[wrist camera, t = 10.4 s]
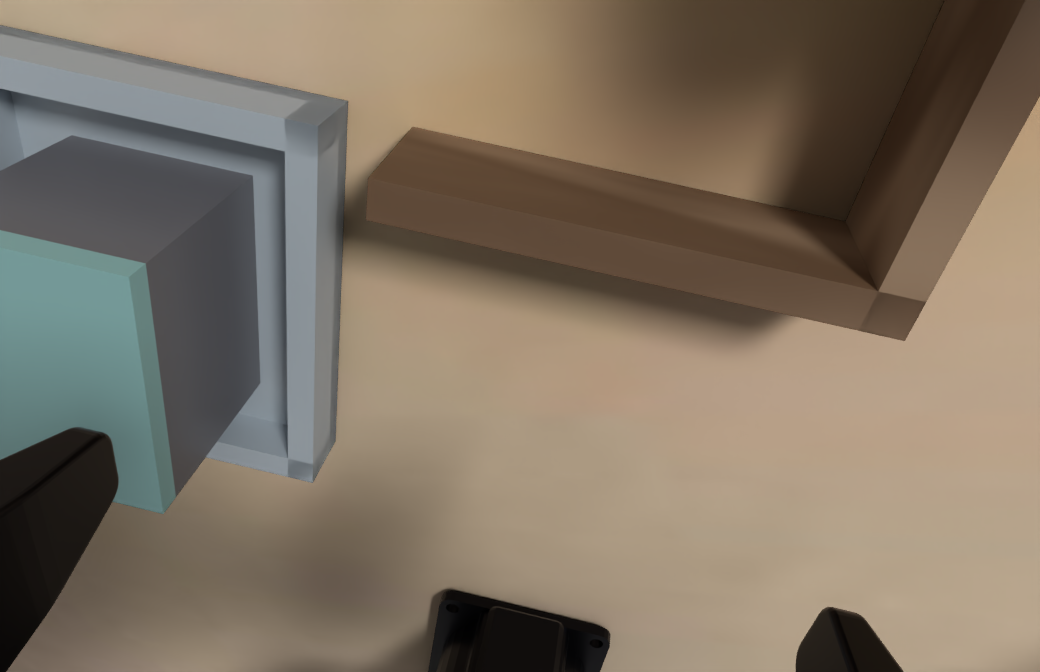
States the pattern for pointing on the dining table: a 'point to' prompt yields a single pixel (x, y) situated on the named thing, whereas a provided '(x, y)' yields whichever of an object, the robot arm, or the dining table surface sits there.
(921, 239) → the bay
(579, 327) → the dining table surface
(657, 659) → the dining table surface
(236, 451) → the tray
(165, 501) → the teal rectangular block
